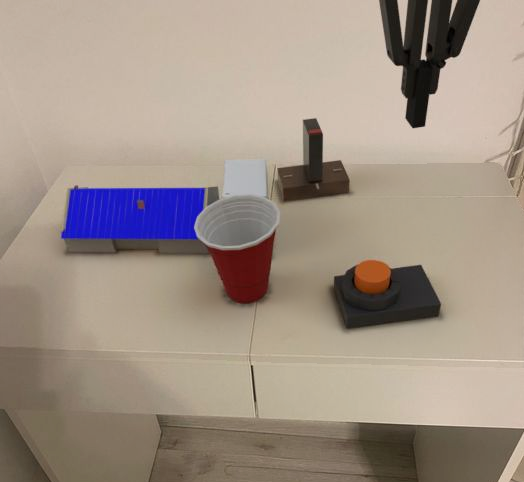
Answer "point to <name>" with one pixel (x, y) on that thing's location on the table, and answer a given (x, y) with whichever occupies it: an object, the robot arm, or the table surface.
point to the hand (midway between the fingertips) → (415, 122)
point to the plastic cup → (240, 243)
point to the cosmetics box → (245, 177)
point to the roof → (134, 218)
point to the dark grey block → (312, 150)
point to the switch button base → (387, 298)
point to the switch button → (372, 277)
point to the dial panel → (299, 187)
